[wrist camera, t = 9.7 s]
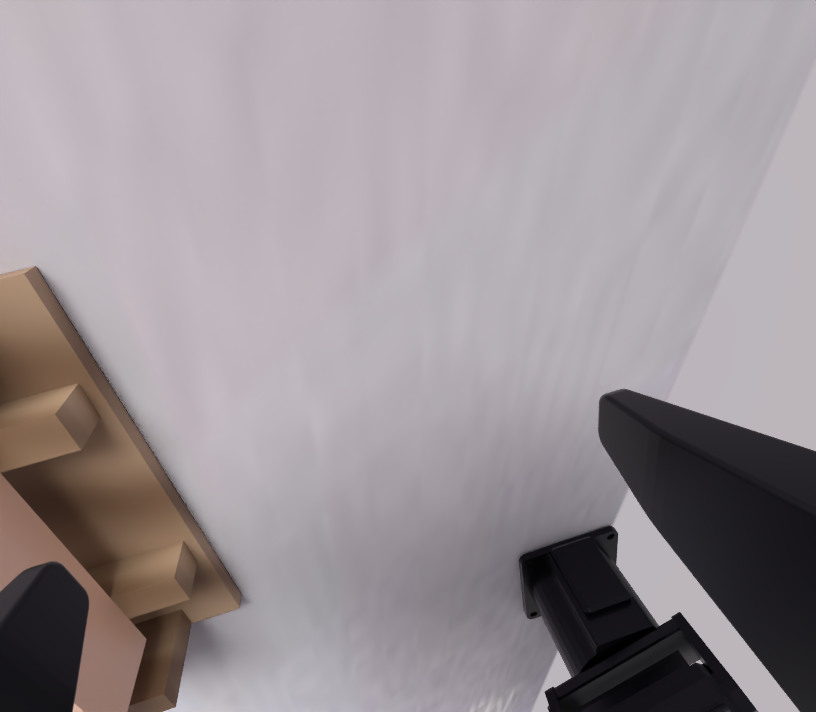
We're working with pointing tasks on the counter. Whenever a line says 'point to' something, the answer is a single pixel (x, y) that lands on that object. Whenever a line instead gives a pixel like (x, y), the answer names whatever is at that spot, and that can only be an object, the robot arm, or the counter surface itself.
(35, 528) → the long rectangular block
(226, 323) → the counter surface
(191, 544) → the rack
